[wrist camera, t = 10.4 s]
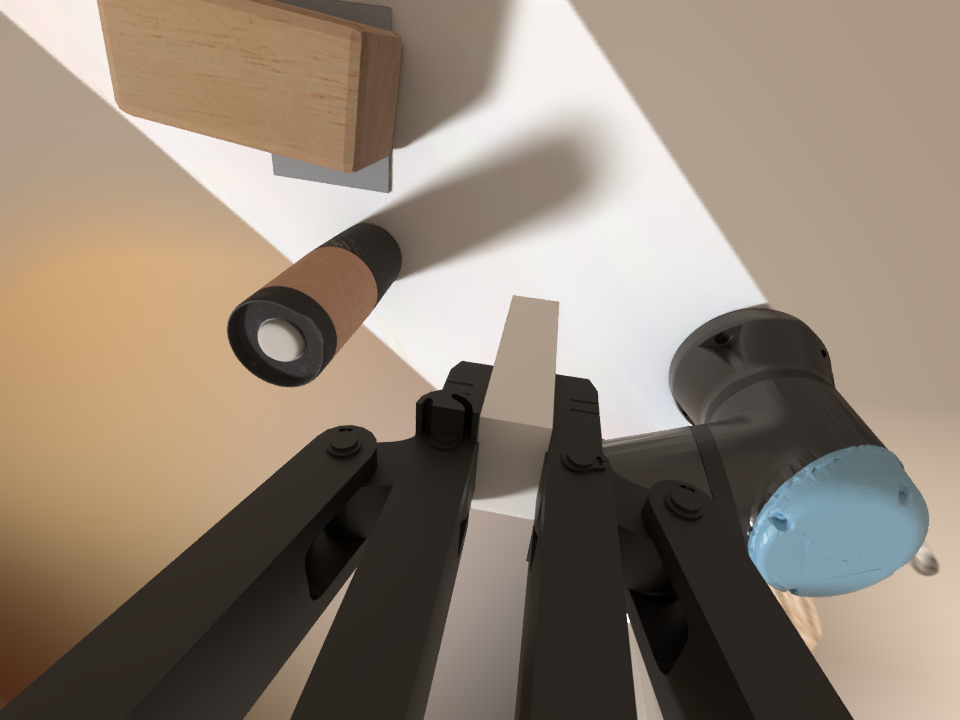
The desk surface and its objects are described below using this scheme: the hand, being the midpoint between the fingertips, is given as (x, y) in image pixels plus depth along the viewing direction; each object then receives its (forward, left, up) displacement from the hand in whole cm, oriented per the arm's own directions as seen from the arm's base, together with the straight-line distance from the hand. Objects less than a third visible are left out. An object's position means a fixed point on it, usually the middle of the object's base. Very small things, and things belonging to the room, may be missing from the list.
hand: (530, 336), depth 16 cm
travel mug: (+18, +12, -33) cm, 40 cm away
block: (+14, -4, -28) cm, 32 cm away
